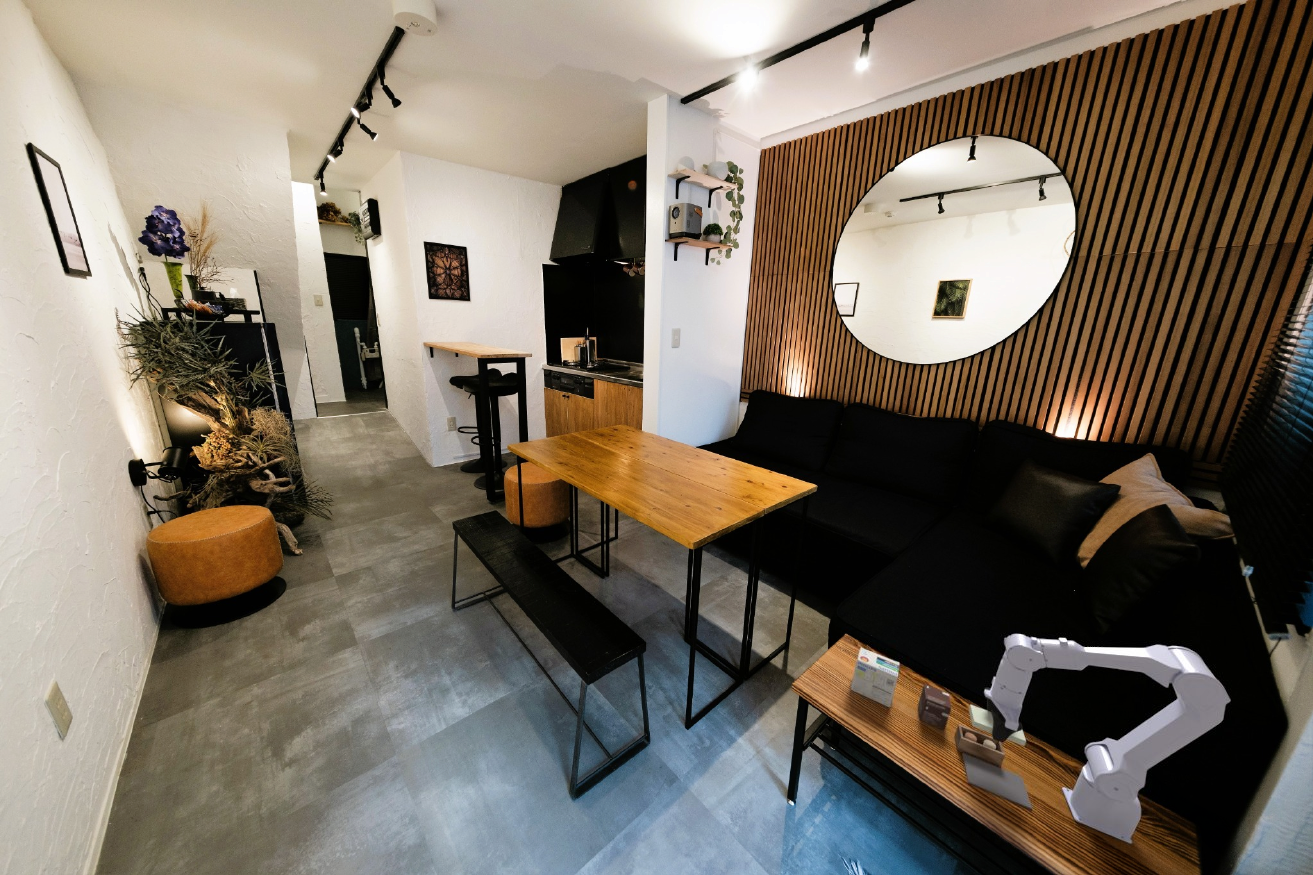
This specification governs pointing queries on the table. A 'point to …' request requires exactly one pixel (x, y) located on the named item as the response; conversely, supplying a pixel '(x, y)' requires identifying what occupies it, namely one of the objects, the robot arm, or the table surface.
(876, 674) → the light bulb box
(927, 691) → the box
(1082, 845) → the table surface
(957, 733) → the crate
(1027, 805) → the mat
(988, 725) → the lid
